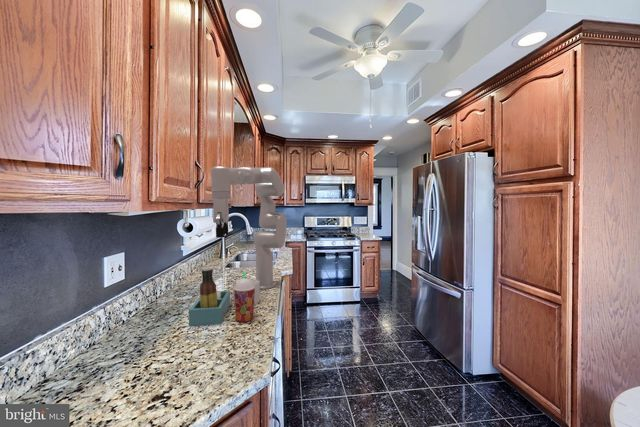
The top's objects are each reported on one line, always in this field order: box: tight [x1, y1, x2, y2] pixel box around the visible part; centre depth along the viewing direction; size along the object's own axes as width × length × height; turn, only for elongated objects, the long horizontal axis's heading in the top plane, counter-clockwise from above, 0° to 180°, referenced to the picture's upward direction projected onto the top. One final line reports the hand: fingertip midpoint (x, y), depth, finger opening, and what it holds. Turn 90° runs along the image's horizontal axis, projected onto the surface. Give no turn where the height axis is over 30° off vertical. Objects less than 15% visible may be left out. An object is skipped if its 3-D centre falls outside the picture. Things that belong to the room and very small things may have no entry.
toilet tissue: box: [232, 278, 261, 305], centre depth 128 cm, size 11×12×10 cm
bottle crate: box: [188, 290, 231, 327], centre depth 113 cm, size 22×11×7 cm, turn 9°
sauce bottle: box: [199, 267, 218, 308], centre depth 109 cm, size 6×6×20 cm
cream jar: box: [217, 290, 221, 299], centre depth 118 cm, size 5×5×7 cm
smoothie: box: [232, 270, 255, 323], centre depth 108 cm, size 8×8×20 cm
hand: (222, 235), depth 117 cm, fingers open, 9 cm apart
